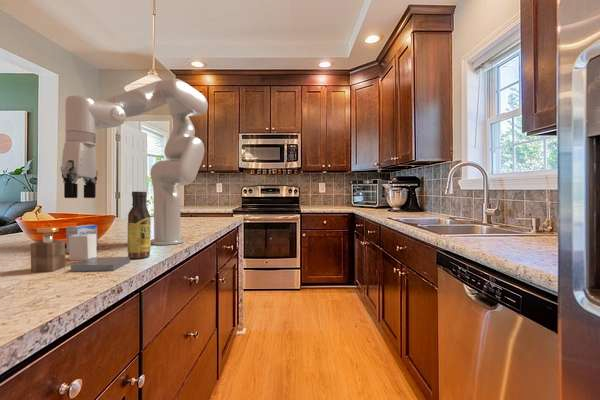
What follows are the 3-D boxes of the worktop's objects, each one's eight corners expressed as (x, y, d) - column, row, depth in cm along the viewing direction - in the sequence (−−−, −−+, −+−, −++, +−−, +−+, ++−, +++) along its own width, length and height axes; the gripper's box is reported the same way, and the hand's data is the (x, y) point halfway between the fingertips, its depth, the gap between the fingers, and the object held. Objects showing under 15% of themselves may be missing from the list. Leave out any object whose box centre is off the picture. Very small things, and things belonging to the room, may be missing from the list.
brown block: (44, 267, 86) (44, 240, 86) (65, 266, 86) (64, 240, 86) (31, 271, 81) (30, 243, 81) (52, 271, 81) (52, 243, 81)
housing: (79, 256, 100) (78, 233, 100) (96, 256, 100) (96, 233, 100) (69, 260, 95) (68, 235, 95) (87, 259, 95) (87, 235, 95)
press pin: (44, 252, 85) (44, 227, 85) (62, 252, 86) (62, 227, 86) (32, 255, 81) (32, 229, 81) (51, 255, 82) (51, 229, 81)
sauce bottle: (144, 259, 96) (143, 191, 95) (123, 259, 96) (122, 191, 95) (154, 255, 102) (154, 191, 102) (134, 255, 102) (134, 191, 102)
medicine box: (77, 254, 104) (77, 227, 103) (66, 253, 105) (65, 226, 104) (98, 250, 111) (97, 224, 111) (86, 249, 112) (86, 224, 112)
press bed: (92, 262, 91) (92, 257, 91) (130, 262, 92) (129, 256, 92) (70, 271, 81) (70, 265, 81) (113, 270, 82) (113, 264, 82)
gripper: (83, 144, 105) (83, 197, 105) (47, 133, 88) (47, 197, 88) (108, 144, 106) (108, 198, 106) (77, 134, 88) (77, 198, 89)
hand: (80, 197), depth 97 cm, fingers open, 9 cm apart
